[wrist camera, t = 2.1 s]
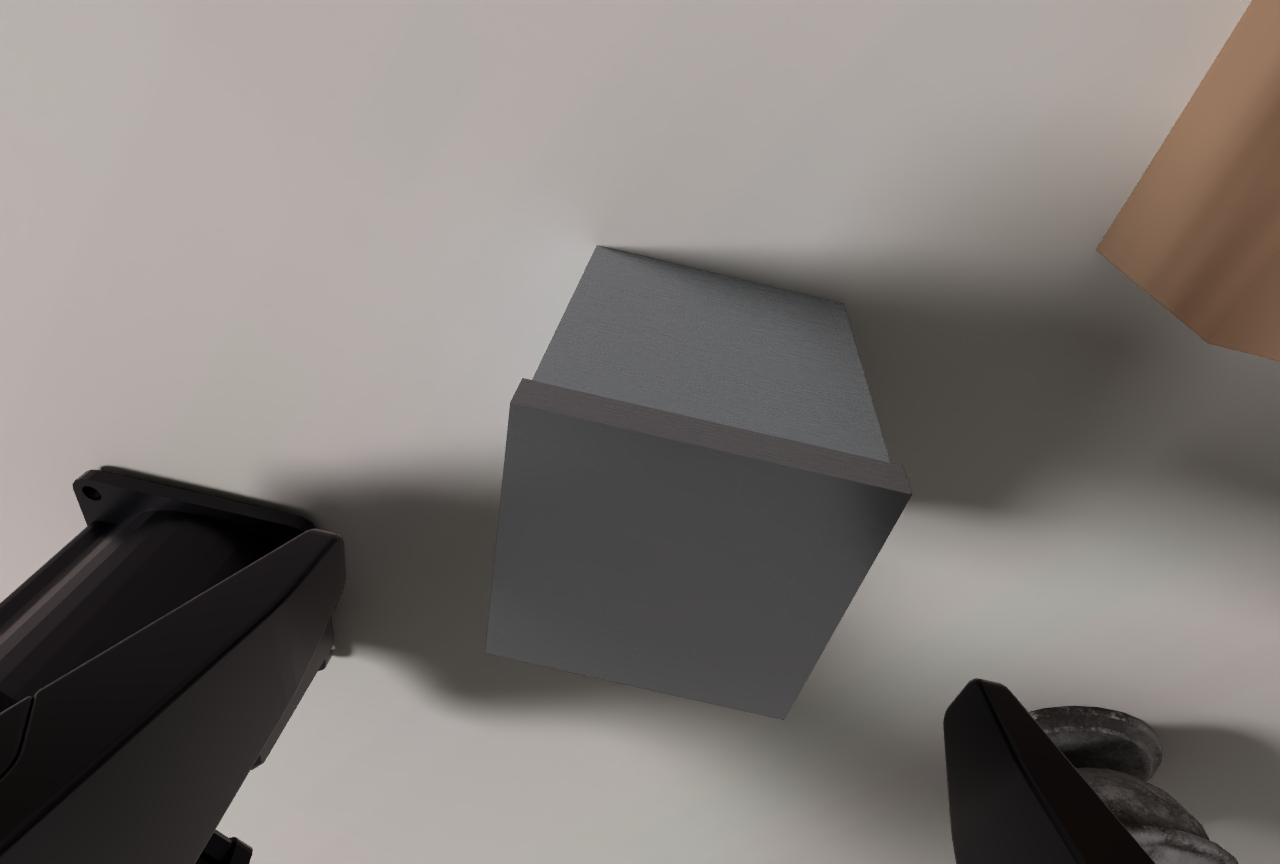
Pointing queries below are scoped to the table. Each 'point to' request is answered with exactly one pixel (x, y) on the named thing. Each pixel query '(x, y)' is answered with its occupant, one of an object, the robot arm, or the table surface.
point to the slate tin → (689, 487)
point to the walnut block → (1216, 200)
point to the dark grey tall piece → (1130, 781)
